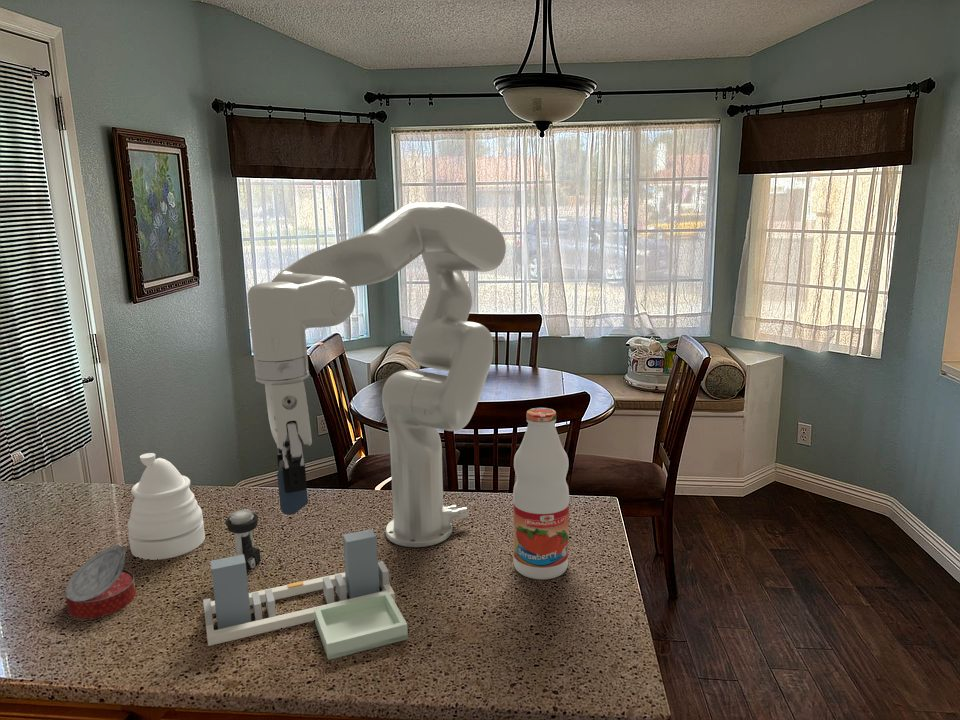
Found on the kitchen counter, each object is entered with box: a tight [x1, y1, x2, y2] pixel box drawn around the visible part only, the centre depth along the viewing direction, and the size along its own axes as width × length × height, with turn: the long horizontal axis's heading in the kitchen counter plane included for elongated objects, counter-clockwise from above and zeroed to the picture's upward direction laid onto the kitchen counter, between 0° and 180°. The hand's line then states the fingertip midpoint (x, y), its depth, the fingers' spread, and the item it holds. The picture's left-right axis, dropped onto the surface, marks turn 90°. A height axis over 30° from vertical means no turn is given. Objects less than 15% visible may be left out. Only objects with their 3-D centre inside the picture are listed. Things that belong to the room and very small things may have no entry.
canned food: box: [64, 544, 137, 619], centre depth 116 cm, size 11×10×10 cm
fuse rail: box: [202, 528, 396, 647], centre depth 113 cm, size 28×10×10 cm, turn 113°
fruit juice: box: [512, 407, 570, 580], centre depth 122 cm, size 9×9×28 cm
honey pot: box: [127, 452, 206, 561], centre depth 133 cm, size 13×13×18 cm
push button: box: [225, 508, 261, 571], centre depth 125 cm, size 7×5×10 cm
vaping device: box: [276, 439, 309, 516], centre depth 109 cm, size 3×5×12 cm, turn 161°
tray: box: [314, 591, 409, 661], centre depth 107 cm, size 12×10×2 cm
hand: (292, 483), depth 110 cm, fingers closed on vaping device, 4 cm apart
